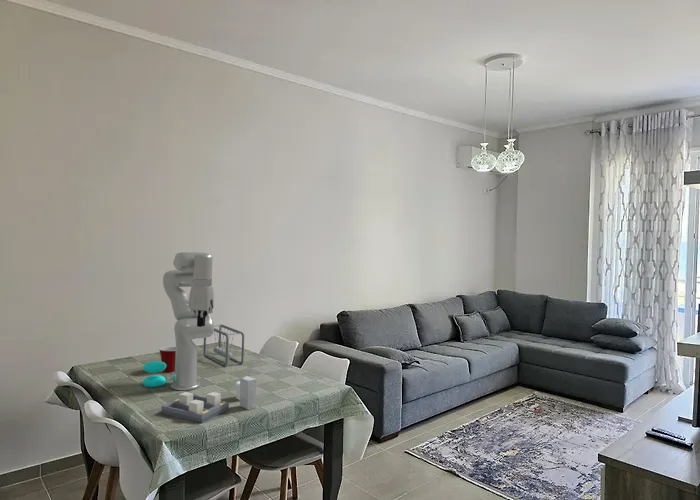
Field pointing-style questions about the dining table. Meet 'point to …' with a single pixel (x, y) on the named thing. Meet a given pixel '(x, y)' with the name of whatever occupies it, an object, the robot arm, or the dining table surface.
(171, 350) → the plastic cup
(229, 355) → the newton's cradle
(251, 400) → the skincare box
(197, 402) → the white cube
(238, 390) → the grey cylinder
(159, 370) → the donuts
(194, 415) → the switch bank
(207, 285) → the robot arm
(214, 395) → the tab inner
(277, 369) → the dining table surface
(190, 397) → the tab middle
